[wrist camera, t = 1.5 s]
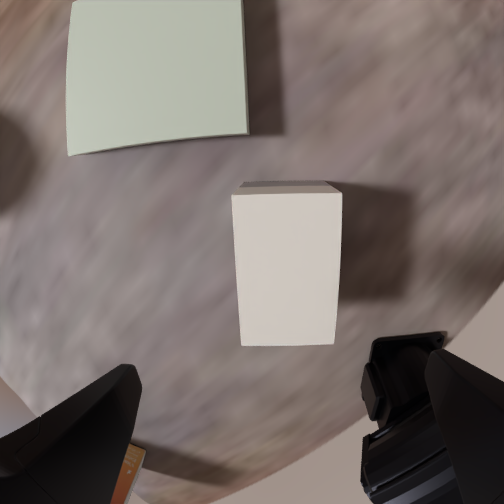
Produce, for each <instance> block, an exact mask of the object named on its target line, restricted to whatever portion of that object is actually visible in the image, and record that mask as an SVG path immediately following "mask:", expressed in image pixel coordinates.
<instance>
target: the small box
mask: <svg viewBox="0 0 504 504" xmlns="http://www.w3.org/2000/svg"><path fill="white" fill-rule="evenodd" d="M145 454H146V450H144V449H141V448H138V447H136V446H133V445H131V444H129V446H128V449H127V452H126V455H125V458H124V461H123V464H122V467H121V471H120V474H119V477H118V480H117V484H116V487H115V490H114V493H113V497H112V500H111V504H127V503H128V500H129V498H130V496H131V493H132V491H133V488H134V485H135V483H136V480H137V478H138V475H139V473H140V470H141V467H142V464H143V460H144V457H145Z"/></svg>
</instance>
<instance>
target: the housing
mask: <svg viewBox="0 0 504 504" xmlns="http://www.w3.org/2000/svg"><path fill="white" fill-rule="evenodd" d="M231 196H232V213H233V230H234V246H235V262H236V277H237V292H238V306H239V320H240V334H241V346H292V345H323V344H334V338H335V328H336V317H337V305H338V291H339V275H340V257H341V231H342V193H341V192H340V191H338V190H337V189H335V188H334V187H332V186H331V185H329V184H328V183H326V182H325V181H262V182H244V183H243V184H242V185H241V186H240V187H239V188H238V189H237V190H236V191H235V192H234V193H233V194H232V195H231Z"/></svg>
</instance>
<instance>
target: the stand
mask: <svg viewBox="0 0 504 504" xmlns="http://www.w3.org/2000/svg"><path fill="white" fill-rule="evenodd" d="M66 128H67V148H68V156H76V155H84V154H90V153H95V152H100V151H106V150H112V149H118V148H124V147H131V146H137V145H144V144H152V143H160V142H168V141H177V140H186V139H196V138H208V137H221V136H236V135H250V131H249V109H248V88H247V67H246V46H245V25H244V5H243V0H78V1H76V2H73V4H72V11H71V19H70V28H69V39H68V51H67V70H66Z"/></svg>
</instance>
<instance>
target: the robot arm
mask: <svg viewBox="0 0 504 504" xmlns="http://www.w3.org/2000/svg"><path fill="white" fill-rule="evenodd" d="M438 338H439V339H438ZM437 339H438V340H437ZM443 342H444V336H443V334H442V333H440V332H438V333H430V334H421V335H412V336H403V337H392V338H381V339H376V340H374V341H373V342H372V346H371V351H370V357H369V362H368V363H367V364H366V365H365V367H364V372H363V377H362V382H361V390H362V399H363V401H365V404H366V408H367V411H368V415H369V418H370V420H371V421H377V423H378V427H379V430H377V431H375V432H374V433H372V434H368V435H366V436H365V437H363V445H362V461H361V480H360V481H361V484H362V486H363V488H364V492H365V493H366V494H367V496H368V497H369V499H370V500H371V501H372V503H373V504H504V382H503V381H501V380H499V379H498V378H496V377H494V376H492V375H490V374H489V373H486V372H485V371H483V370H481V369H479V368H478V367H476V366H474V365H472V364H470V363H468V362H467V361H465V360H463V359H461V358H459V357H457V356H456V355H454V354H452V353H450V352H448V351H447V350H445V349H442V345H443ZM378 344H380V346H378V347H376V346H377V345H378ZM141 393H142V384H141V381H140V378H139V376H138V373H137V370H136V367H135V366H134V365H132V364H120V365H119V366H117V367H116V368H114V369H113V370H111V371H110V372H108V373H107V374H105V375H103V376H102V377H100V378H99V379H97V380H96V381H94V382H93V383H91V384H90V385H88V386H86V387H85V388H83V389H82V390H80V391H79V392H77V393H76V394H74V395H72V396H71V397H69V398H68V399H66V400H65V401H63V402H61V403H60V404H58V405H57V406H55V407H54V408H52V409H50V410H49V411H47V412H46V413H44V414H42V415H41V417H40V416H39V417H38V418H36V419H34V420H33V421H31V422H29V423H28V424H26V425H25V426H23V427H21V428H19V429H17V430H16V431H14V432H12V433H10V434H8V435H6V436H4V437H2V438H0V504H111V500H112V497H113V493H114V490H115V487H116V484H117V480H118V477H119V474H120V471H121V467H122V464H123V461H124V458H125V455H126V452H127V449H128V446H129V443H130V440H131V437H132V433H133V430H134V426H135V421H136V416H137V411H138V407H139V402H140V397H141Z"/></svg>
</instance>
